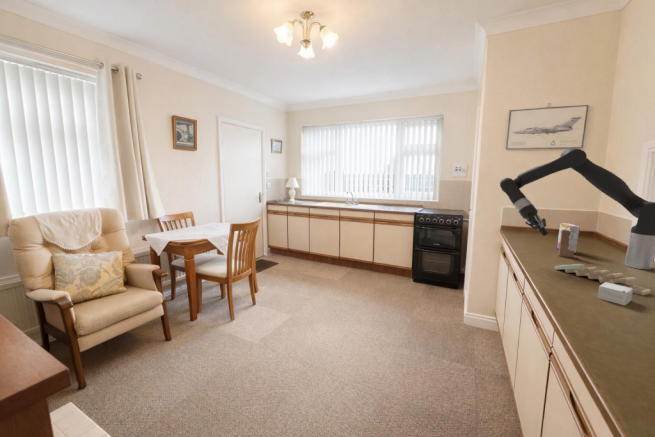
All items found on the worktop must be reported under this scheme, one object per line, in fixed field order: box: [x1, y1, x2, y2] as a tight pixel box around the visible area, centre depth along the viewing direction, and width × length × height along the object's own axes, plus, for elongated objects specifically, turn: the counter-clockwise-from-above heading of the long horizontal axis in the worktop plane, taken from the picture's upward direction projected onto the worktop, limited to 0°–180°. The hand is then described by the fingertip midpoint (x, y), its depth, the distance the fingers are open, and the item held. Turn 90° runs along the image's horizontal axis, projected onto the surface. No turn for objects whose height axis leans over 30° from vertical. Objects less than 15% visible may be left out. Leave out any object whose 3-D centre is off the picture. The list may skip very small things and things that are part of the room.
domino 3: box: [574, 269, 610, 277], centre depth 130 cm, size 2×5×10 cm
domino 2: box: [564, 266, 598, 274], centre depth 134 cm, size 2×5×10 cm
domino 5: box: [598, 276, 637, 284], centre depth 121 cm, size 2×5×10 cm
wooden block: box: [558, 230, 575, 259], centre depth 163 cm, size 7×3×15 cm, turn 58°
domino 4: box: [587, 272, 624, 280], centre depth 125 cm, size 2×5×10 cm
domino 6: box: [612, 283, 651, 296], centre depth 118 cm, size 2×5×10 cm
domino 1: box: [554, 263, 586, 271], centre depth 138 cm, size 2×5×10 cm
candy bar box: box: [556, 222, 581, 254], centre depth 174 cm, size 11×5×16 cm, turn 168°
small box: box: [597, 282, 633, 306], centre depth 109 cm, size 8×8×5 cm
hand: (546, 234), depth 147 cm, fingers closed
